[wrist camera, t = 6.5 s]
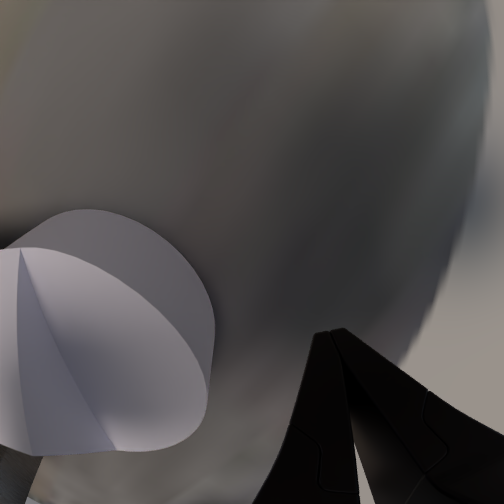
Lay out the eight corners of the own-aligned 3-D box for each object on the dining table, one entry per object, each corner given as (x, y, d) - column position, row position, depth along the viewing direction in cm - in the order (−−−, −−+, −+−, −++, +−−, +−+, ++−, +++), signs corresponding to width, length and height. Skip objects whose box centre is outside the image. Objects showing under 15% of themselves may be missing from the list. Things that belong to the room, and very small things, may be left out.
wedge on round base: (10, 376, 14) (227, 396, 13) (-39, 459, 7) (221, 533, 7) (-52, 232, 10) (198, 195, 10) (-143, 299, 4) (127, 330, 4)
